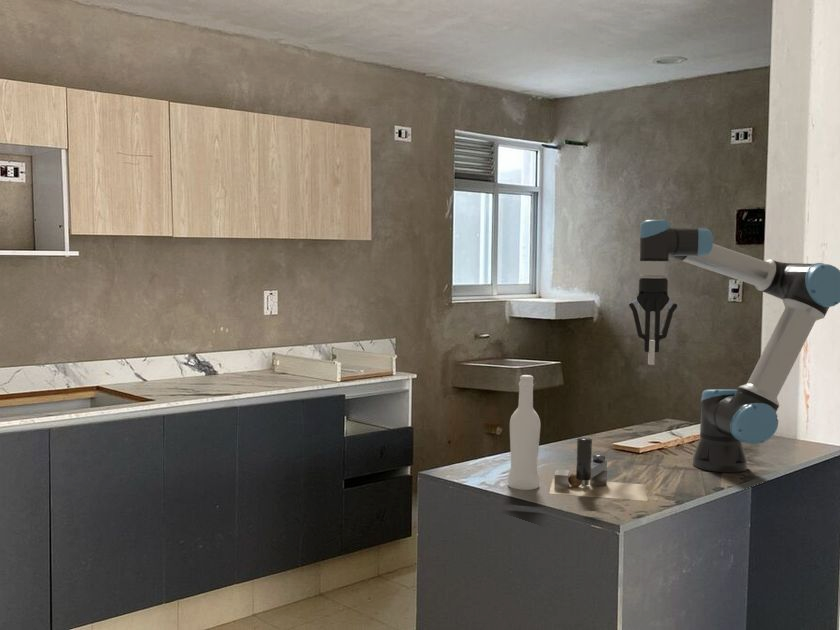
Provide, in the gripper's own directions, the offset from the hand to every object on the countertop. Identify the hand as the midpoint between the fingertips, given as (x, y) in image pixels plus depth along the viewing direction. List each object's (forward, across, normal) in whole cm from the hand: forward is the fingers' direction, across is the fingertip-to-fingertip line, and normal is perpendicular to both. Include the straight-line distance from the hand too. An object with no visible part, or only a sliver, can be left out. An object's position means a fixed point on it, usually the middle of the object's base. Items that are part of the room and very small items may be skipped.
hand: (651, 364), depth 232 cm
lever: (+30, +16, +18) cm, 39 cm away
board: (+32, +14, +17) cm, 39 cm away
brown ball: (+30, +19, +17) cm, 40 cm away
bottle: (+32, +33, +19) cm, 50 cm away
